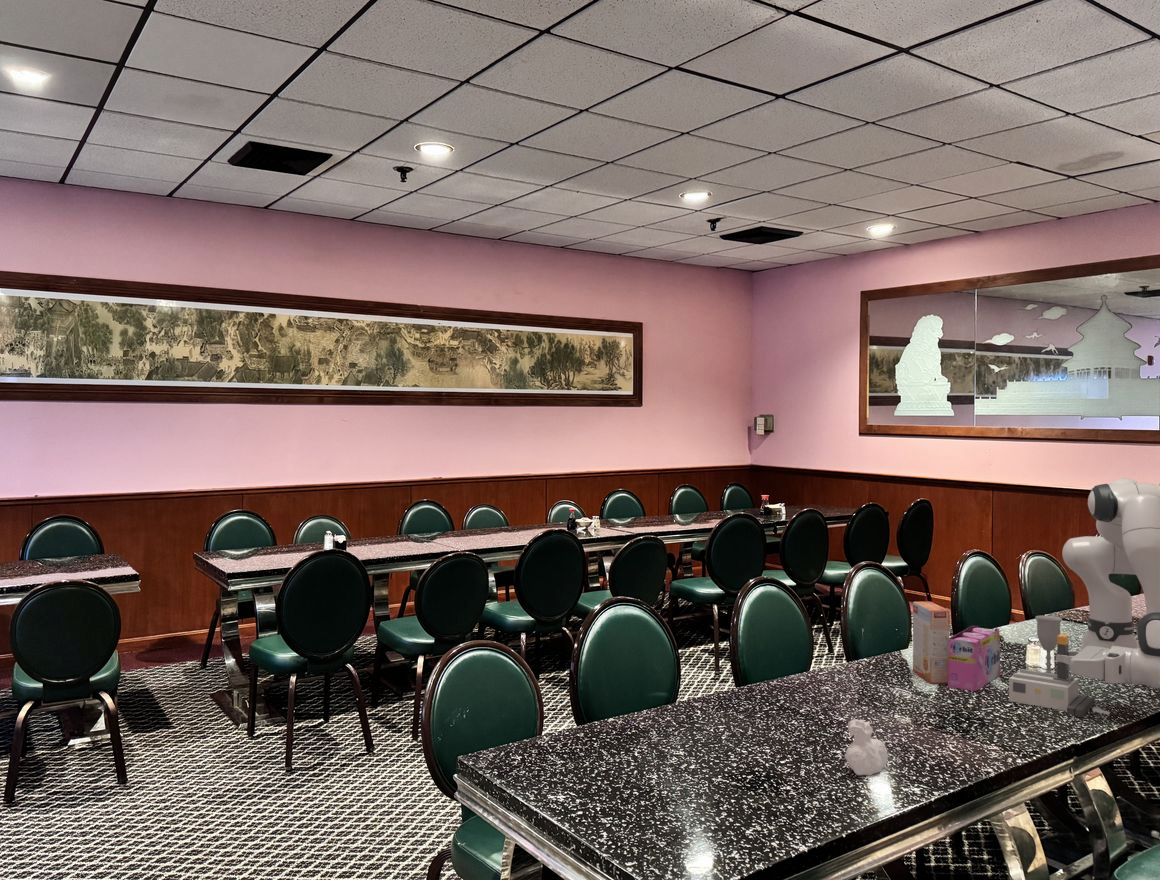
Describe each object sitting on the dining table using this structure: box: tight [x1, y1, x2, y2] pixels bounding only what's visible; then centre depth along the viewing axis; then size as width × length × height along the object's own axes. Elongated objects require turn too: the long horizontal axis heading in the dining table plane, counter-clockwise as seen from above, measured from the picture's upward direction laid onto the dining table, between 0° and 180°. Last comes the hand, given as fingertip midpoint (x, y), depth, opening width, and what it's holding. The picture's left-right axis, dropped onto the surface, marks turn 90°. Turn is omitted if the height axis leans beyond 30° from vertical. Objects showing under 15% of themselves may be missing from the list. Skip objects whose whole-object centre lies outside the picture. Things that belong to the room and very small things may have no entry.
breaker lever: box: [1053, 633, 1074, 683], centre depth 237 cm, size 4×4×12 cm
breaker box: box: [1008, 668, 1079, 712], centre depth 240 cm, size 11×14×7 cm
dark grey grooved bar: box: [1066, 693, 1096, 718], centre depth 234 cm, size 16×3×2 cm, turn 140°
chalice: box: [1035, 615, 1063, 674], centre depth 259 cm, size 7×7×18 cm
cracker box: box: [912, 601, 951, 685], centre depth 264 cm, size 14×6×21 cm, turn 179°
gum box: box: [947, 625, 1001, 692], centre depth 261 cm, size 24×8×14 cm, turn 140°
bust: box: [844, 718, 889, 777], centre depth 192 cm, size 12×8×11 cm
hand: (1058, 655), depth 238 cm, fingers closed on breaker lever, 3 cm apart
